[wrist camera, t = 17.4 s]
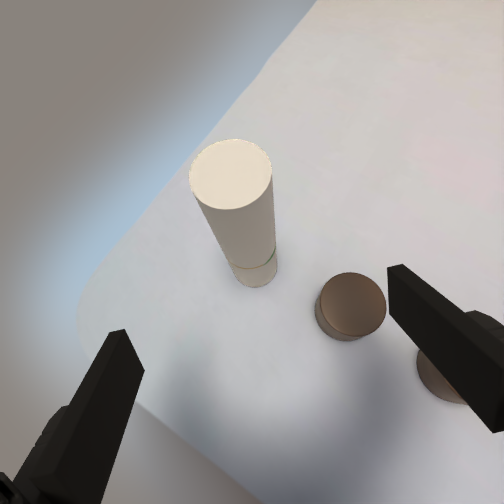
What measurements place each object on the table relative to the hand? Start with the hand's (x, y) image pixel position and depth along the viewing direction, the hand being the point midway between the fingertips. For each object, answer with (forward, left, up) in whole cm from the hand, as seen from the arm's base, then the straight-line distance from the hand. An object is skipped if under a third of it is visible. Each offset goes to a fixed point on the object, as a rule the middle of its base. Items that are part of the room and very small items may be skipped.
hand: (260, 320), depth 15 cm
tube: (+1, +7, -13) cm, 15 cm away
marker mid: (+7, 0, -13) cm, 14 cm away
